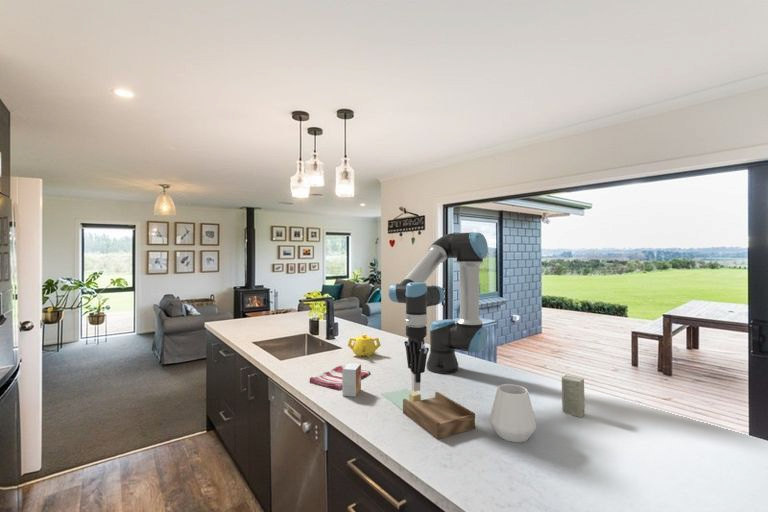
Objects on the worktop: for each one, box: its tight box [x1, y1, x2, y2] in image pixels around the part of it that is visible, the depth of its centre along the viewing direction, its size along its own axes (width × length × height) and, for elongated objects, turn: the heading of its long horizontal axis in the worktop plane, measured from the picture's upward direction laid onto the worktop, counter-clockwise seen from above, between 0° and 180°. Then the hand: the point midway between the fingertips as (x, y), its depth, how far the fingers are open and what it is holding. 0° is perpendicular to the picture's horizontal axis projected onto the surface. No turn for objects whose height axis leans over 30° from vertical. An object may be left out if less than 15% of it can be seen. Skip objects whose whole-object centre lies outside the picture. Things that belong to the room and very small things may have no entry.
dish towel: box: [308, 365, 372, 391], centre depth 160 cm, size 17×23×3 cm
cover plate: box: [380, 388, 425, 412], centre depth 136 cm, size 12×18×5 cm
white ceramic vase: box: [489, 383, 537, 443], centre depth 110 cm, size 13×13×14 cm
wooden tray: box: [402, 391, 476, 440], centre depth 119 cm, size 15×20×5 cm
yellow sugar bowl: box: [347, 333, 381, 358], centre depth 196 cm, size 20×18×11 cm
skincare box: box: [561, 374, 586, 418], centre depth 125 cm, size 6×4×12 cm
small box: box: [341, 362, 362, 398], centre depth 143 cm, size 8×6×10 cm
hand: (416, 390), depth 131 cm, fingers closed
